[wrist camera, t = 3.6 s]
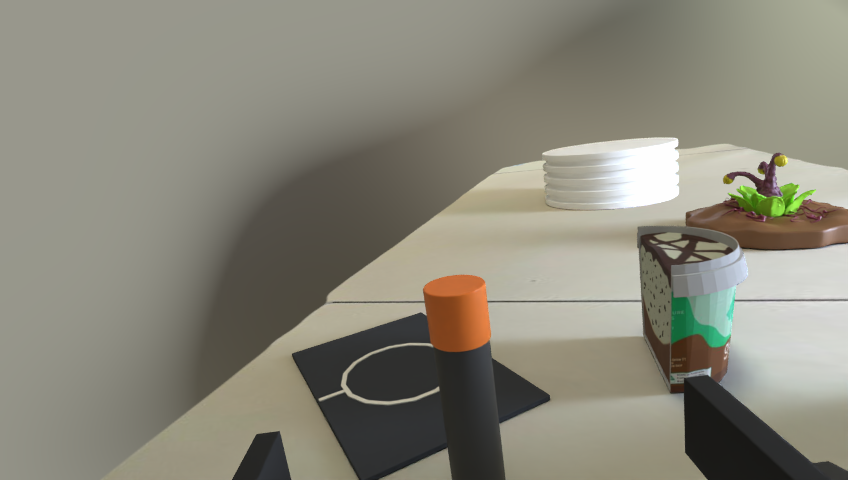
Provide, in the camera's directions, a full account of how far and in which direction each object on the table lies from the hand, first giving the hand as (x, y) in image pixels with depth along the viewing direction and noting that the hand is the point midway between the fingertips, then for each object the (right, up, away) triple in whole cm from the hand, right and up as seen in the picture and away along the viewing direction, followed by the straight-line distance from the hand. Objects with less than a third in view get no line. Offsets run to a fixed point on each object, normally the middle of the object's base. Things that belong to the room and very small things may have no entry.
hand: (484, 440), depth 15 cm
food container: (+20, -3, +23) cm, 31 cm away
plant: (+47, +8, +53) cm, 71 cm away
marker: (+1, -8, +12) cm, 15 cm away
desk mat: (-4, -6, +27) cm, 28 cm away
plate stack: (+40, +16, +93) cm, 103 cm away
